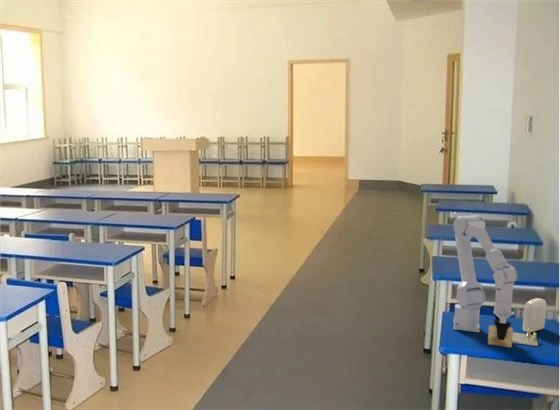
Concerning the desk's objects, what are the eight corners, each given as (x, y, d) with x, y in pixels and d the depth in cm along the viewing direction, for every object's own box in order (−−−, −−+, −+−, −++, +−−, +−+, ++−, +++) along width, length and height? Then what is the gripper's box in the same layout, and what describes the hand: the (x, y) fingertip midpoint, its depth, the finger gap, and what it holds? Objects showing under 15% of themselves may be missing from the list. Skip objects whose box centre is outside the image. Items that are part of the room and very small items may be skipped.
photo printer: (536, 325, 234) (539, 295, 232) (545, 328, 230) (549, 298, 228) (520, 330, 228) (523, 299, 226) (530, 333, 224) (533, 302, 222)
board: (488, 344, 214) (489, 328, 213) (487, 340, 217) (489, 324, 216) (511, 347, 211) (513, 331, 210) (510, 343, 215) (512, 327, 214)
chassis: (502, 341, 216) (502, 333, 216) (501, 332, 225) (502, 324, 224) (537, 346, 213) (538, 337, 212) (535, 337, 221) (536, 329, 221)
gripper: (516, 307, 204) (513, 344, 206) (514, 295, 217) (511, 330, 219) (495, 304, 206) (492, 341, 208) (493, 293, 219) (491, 327, 221)
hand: (500, 335), depth 214 cm, fingers open, 7 cm apart
